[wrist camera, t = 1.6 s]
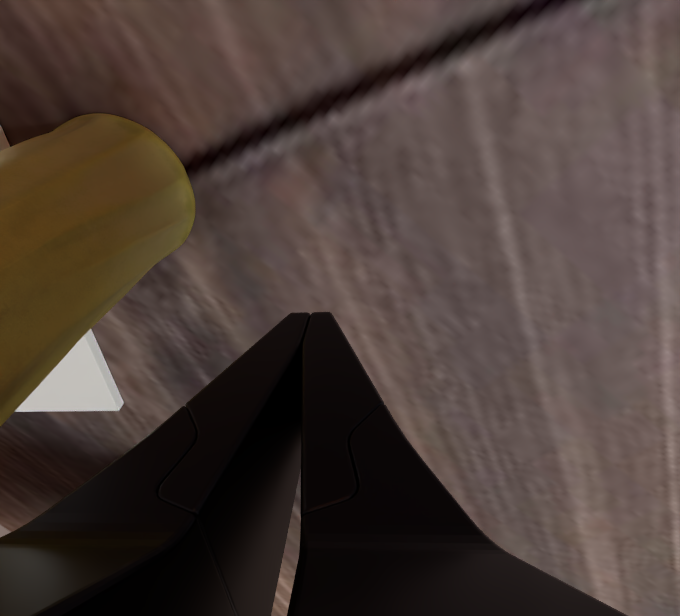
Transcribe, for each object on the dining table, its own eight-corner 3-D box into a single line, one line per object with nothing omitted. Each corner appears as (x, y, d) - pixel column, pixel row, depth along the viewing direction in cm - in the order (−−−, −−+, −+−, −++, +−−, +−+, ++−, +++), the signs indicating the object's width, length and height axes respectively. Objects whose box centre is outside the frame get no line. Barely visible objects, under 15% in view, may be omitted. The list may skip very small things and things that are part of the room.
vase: (128, 280, 21) (-206, 636, 8) (16, 167, 18) (-701, 452, 6) (226, 214, 19) (-28, 557, 6) (117, 77, 16) (-652, 226, 4)
